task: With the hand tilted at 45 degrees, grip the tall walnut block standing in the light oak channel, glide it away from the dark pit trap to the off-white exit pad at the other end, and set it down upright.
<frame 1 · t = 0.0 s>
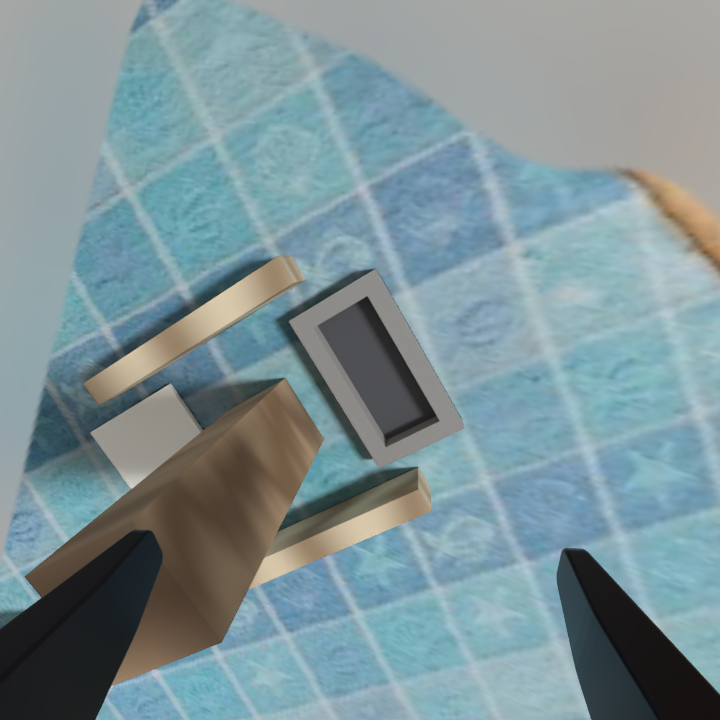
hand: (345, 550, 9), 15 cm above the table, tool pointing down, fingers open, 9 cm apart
pit trap: (378, 369, 24), on the table
exit pad: (179, 476, 28), on the table
channel: (275, 424, 26), on the table
walnut block: (275, 424, 26), on the table
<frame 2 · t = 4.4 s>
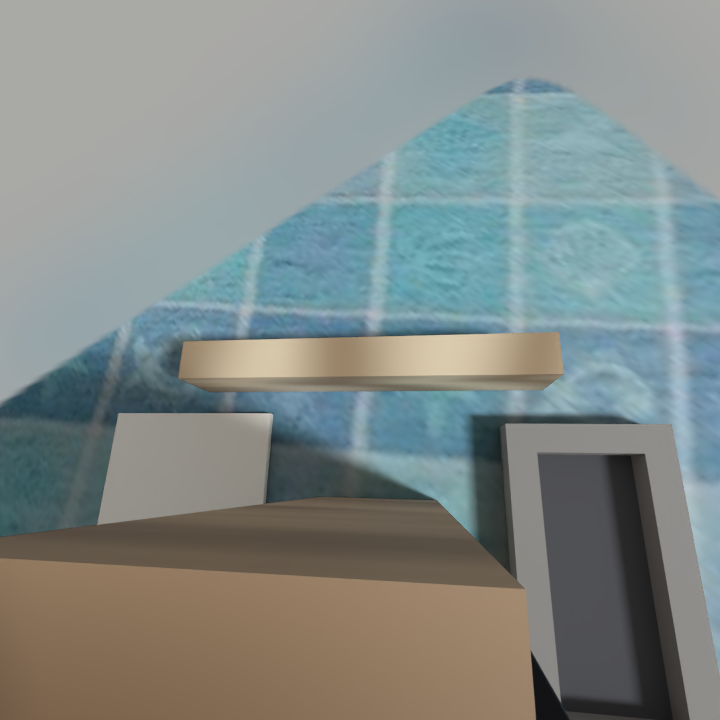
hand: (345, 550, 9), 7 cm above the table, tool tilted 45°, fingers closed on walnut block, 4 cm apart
pit trap: (592, 573, 14), on the table
exit pad: (177, 551, 16), on the table
channel: (376, 562, 15), on the table
walnut block: (376, 562, 15), on the table, touching gripper
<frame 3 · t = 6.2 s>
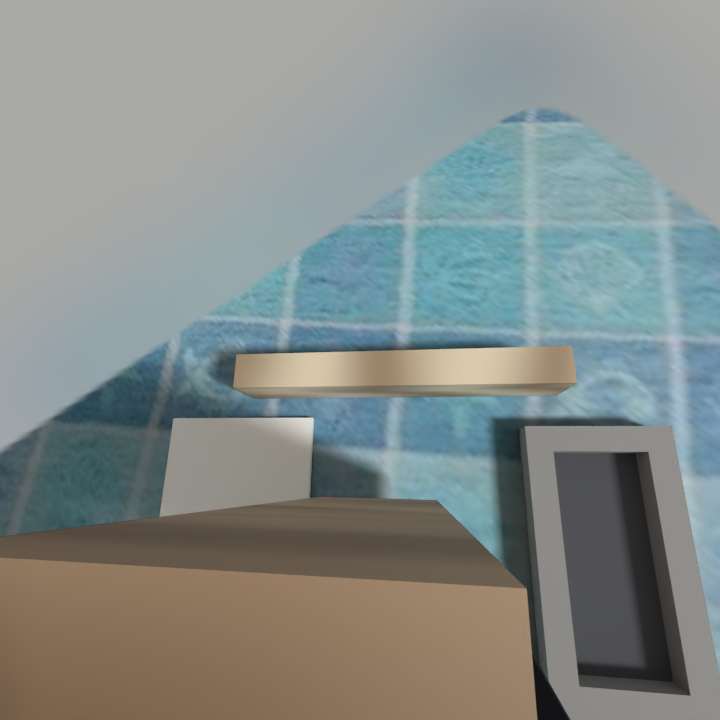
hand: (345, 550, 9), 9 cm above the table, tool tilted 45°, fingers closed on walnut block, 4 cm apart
pit trap: (602, 556, 16), on the table
exit pad: (232, 541, 19), on the table
channel: (411, 549, 17), on the table
walnut block: (377, 562, 15), point 2 cm above the table, touching gripper
when the fingers open (8 cm above the table, at t = 8.3 s): walnut block stays where it is, resting on exit pad.
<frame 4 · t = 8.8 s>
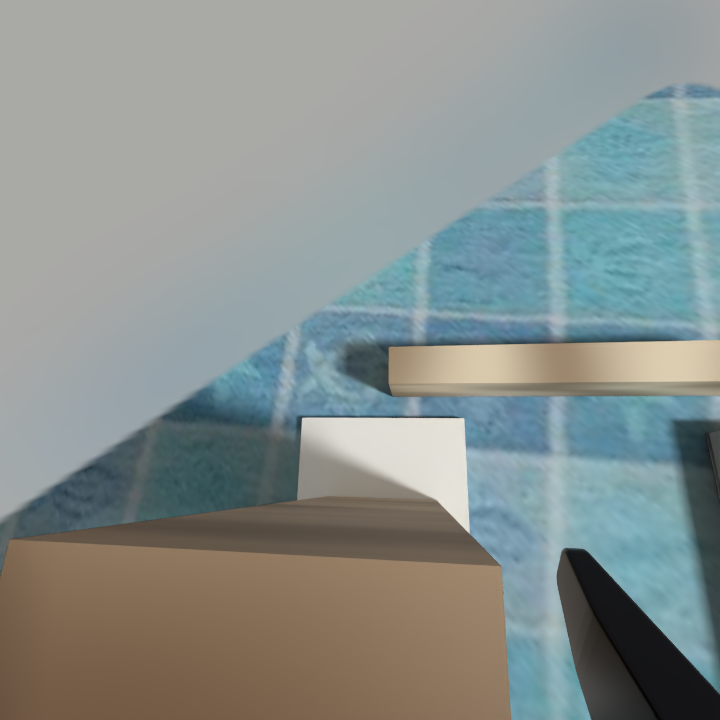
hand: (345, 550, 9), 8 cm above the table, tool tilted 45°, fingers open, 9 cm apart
exit pad: (380, 556, 17), on the table
channel: (593, 567, 15), on the table
walnut block: (379, 558, 16), resting on exit pad
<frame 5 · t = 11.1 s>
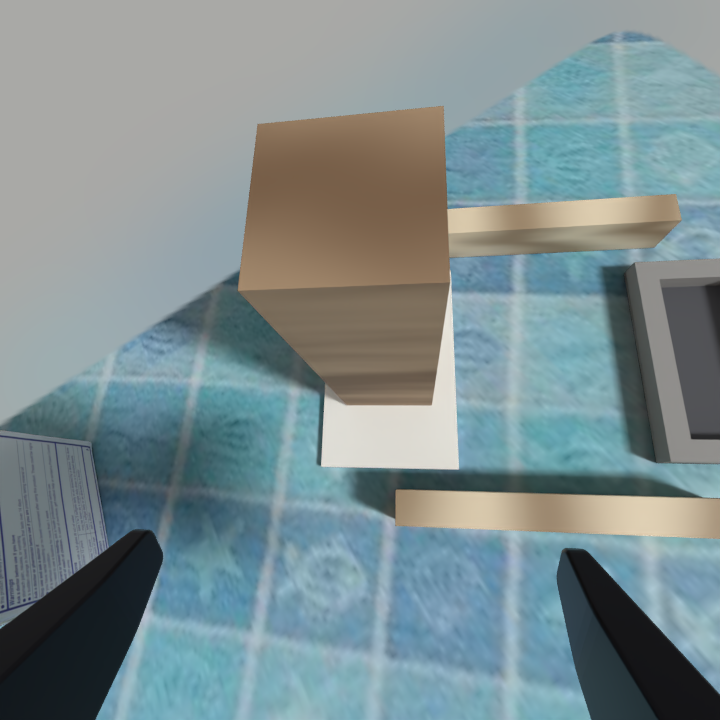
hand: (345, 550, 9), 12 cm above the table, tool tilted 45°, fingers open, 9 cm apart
pit trap: (698, 361, 21), on the table
exit pad: (389, 365, 23), on the table
channel: (541, 363, 22), on the table
walnut block: (389, 364, 23), resting on exit pad
medicine box: (74, 521, 23), on the table
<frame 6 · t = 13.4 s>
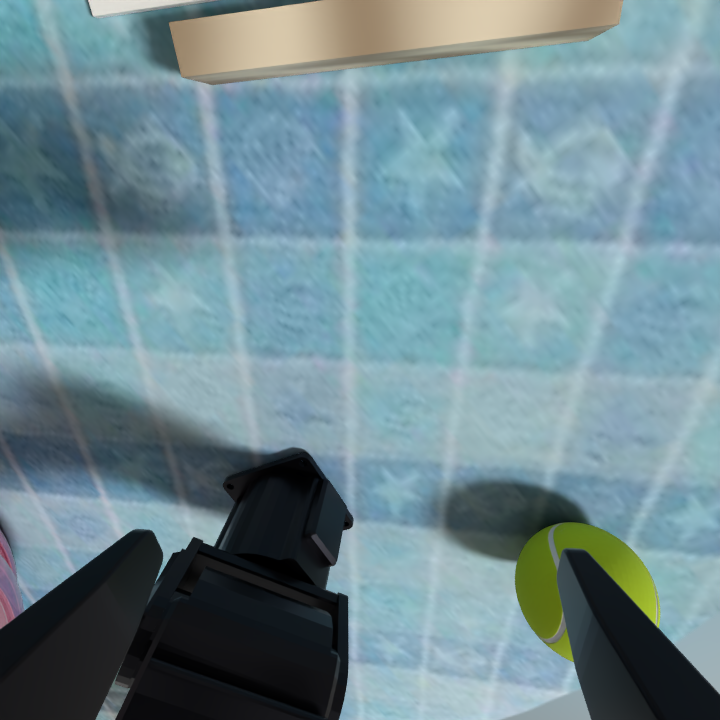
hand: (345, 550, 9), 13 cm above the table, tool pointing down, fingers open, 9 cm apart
tennis ball: (561, 534, 26), on the table
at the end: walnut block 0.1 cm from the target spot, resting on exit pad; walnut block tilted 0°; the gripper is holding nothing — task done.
